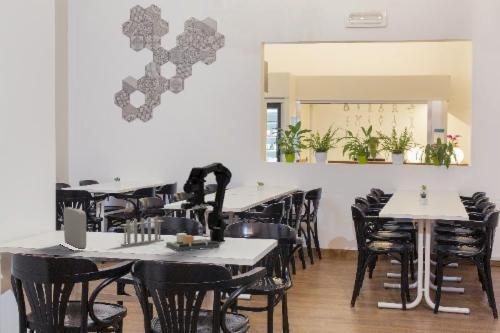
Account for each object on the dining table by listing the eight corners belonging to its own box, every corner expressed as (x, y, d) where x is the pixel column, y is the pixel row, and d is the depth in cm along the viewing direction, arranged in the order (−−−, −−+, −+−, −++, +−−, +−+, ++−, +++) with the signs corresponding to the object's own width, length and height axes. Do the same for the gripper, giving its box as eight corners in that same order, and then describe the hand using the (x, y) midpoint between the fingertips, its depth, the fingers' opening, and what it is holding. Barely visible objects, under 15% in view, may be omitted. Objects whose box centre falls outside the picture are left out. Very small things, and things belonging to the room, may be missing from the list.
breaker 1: (183, 240, 379) (183, 233, 378) (187, 241, 375) (186, 234, 374) (176, 241, 377) (176, 233, 377) (179, 242, 373) (179, 234, 373)
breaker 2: (190, 243, 370) (190, 235, 370) (193, 244, 366) (193, 236, 366) (183, 243, 369) (183, 235, 368) (186, 244, 365) (186, 237, 364)
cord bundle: (216, 243, 372) (216, 240, 372) (218, 243, 370) (218, 240, 370) (178, 246, 362) (178, 243, 362) (179, 247, 360) (179, 244, 360)
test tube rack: (125, 246, 378) (124, 221, 377) (120, 245, 381) (120, 220, 380) (164, 240, 395) (163, 216, 394) (159, 240, 398) (159, 216, 397)
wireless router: (94, 250, 366) (93, 210, 365) (75, 252, 361) (74, 212, 360) (75, 242, 393) (74, 205, 392) (57, 244, 388) (56, 206, 386)
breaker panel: (205, 242, 386) (205, 238, 386) (219, 247, 370) (219, 243, 370) (166, 246, 376) (166, 242, 376) (179, 251, 360) (179, 246, 360)
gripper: (208, 189, 386) (209, 218, 387) (176, 191, 377) (177, 221, 379) (217, 190, 376) (218, 220, 378) (184, 193, 368) (185, 224, 369)
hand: (199, 221), depth 376 cm, fingers closed
